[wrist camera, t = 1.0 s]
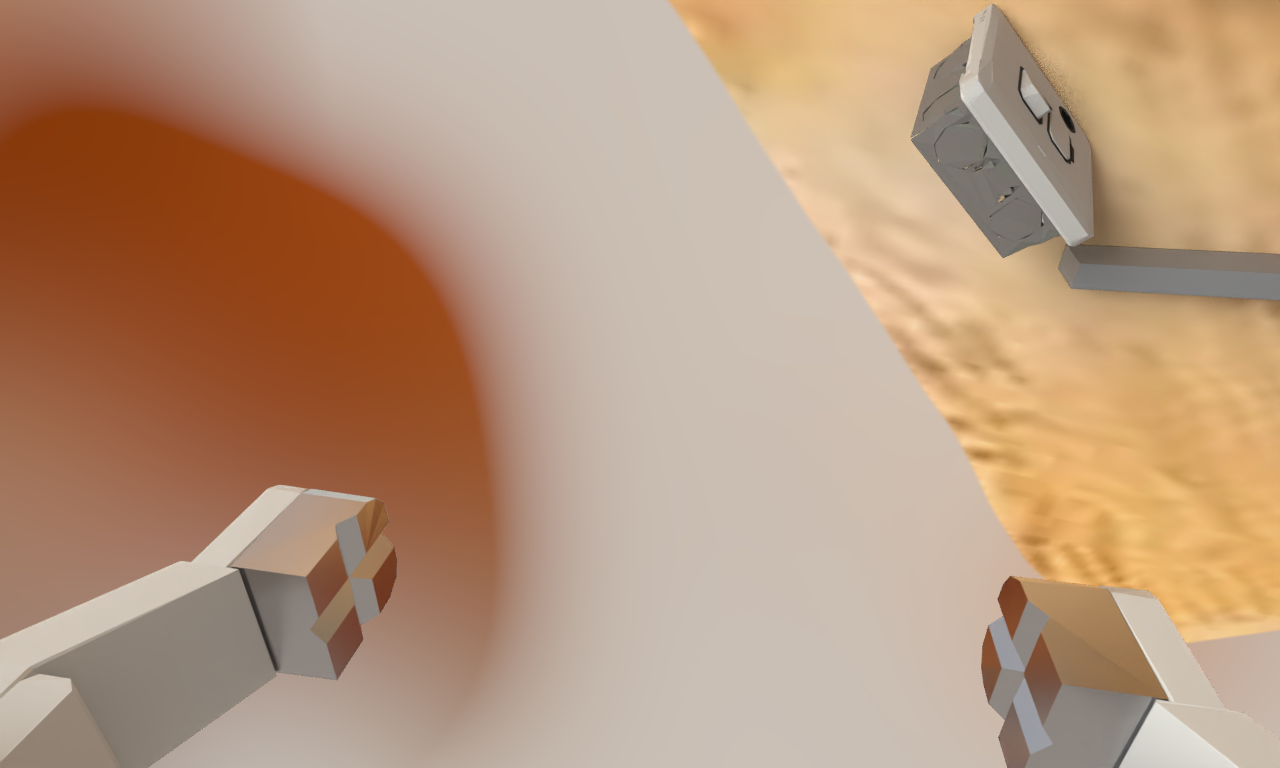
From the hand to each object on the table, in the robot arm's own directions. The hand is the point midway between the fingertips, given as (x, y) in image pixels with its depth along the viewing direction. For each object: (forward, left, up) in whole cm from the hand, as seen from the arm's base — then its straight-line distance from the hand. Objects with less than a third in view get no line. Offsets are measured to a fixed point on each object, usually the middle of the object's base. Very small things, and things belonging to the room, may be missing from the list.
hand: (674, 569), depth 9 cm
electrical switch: (-6, +10, -35) cm, 37 cm away
